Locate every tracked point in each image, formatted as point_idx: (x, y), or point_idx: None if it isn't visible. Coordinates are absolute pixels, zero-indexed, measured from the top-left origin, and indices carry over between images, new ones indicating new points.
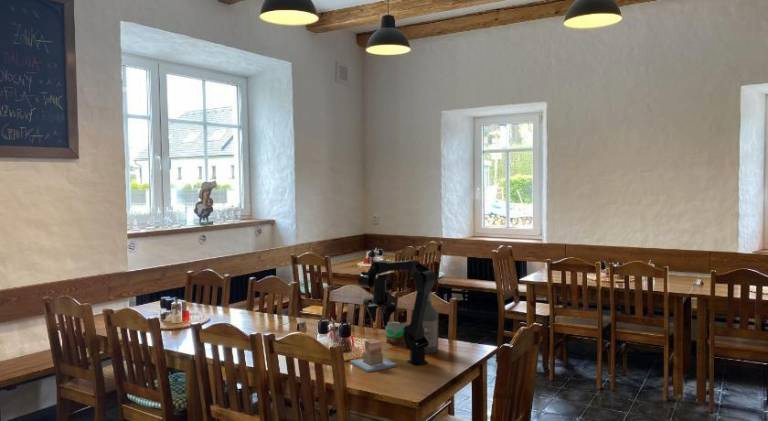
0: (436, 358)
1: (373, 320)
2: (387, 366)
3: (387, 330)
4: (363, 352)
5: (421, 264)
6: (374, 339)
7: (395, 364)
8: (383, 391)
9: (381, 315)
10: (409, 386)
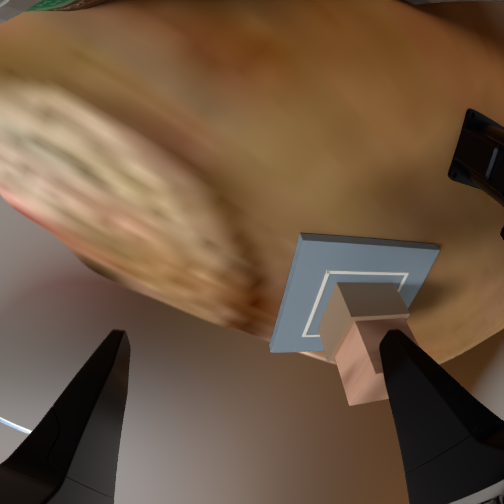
0: (499, 49)
1: (128, 366)
2: (419, 283)
3: (30, 7)
4: (331, 360)
5: None
6: (382, 378)
7: (437, 252)
8: (463, 347)
9: (411, 475)
10: (500, 301)
